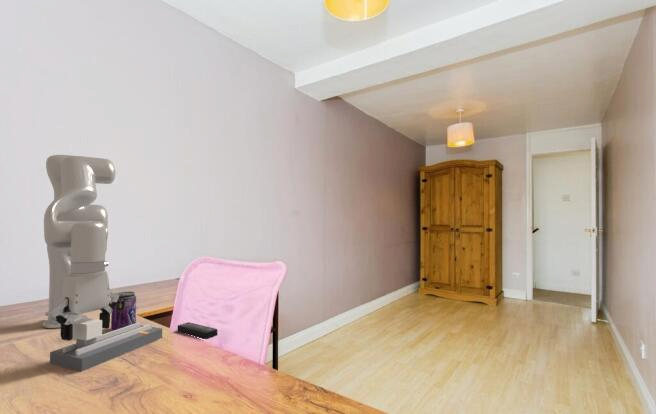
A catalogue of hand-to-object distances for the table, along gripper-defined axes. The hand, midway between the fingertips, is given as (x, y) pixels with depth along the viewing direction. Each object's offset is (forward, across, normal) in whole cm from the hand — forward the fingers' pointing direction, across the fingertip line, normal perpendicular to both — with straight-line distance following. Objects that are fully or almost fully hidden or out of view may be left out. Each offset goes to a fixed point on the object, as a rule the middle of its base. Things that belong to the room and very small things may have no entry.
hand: (86, 333), depth 88 cm
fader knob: (+4, 0, 0) cm, 4 cm away
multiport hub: (+7, -26, +13) cm, 30 cm away
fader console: (+7, -7, 0) cm, 10 cm away
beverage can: (+7, -21, -13) cm, 26 cm away
